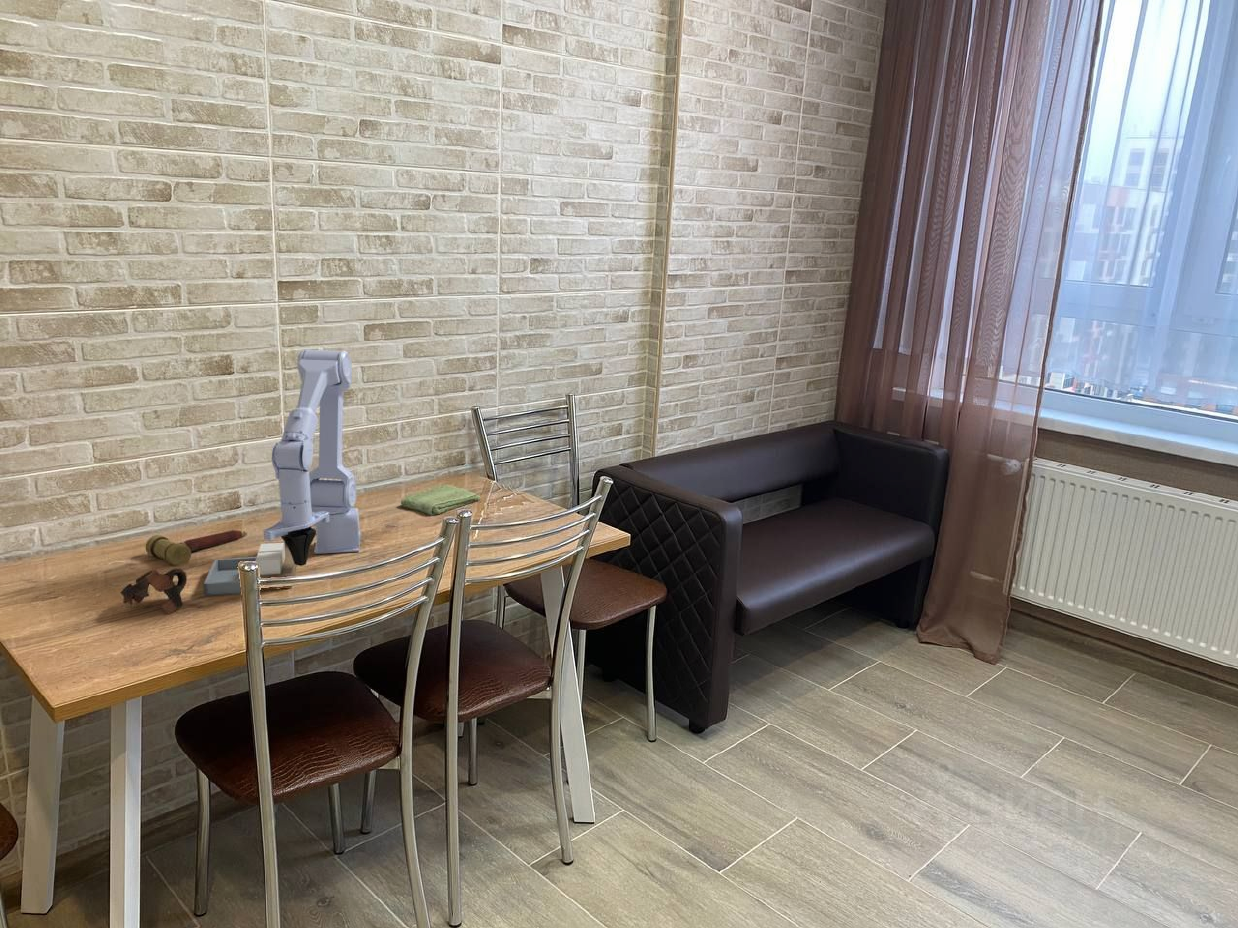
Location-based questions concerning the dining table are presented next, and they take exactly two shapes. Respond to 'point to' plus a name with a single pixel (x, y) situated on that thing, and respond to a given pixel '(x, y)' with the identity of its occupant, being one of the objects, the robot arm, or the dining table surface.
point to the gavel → (187, 546)
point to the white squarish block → (270, 562)
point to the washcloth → (439, 499)
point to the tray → (224, 577)
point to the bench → (283, 569)
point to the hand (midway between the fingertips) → (300, 564)
